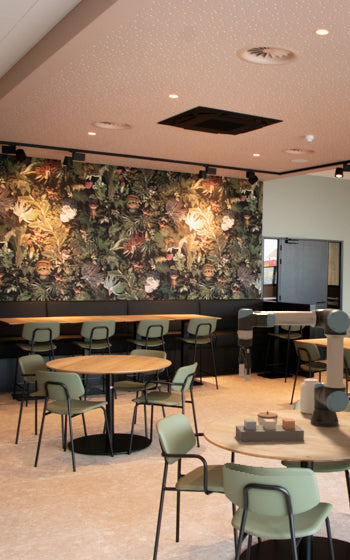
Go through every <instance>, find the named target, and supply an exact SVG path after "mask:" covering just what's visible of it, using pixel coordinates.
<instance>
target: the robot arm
mask: <svg viewBox="0 0 350 560" xmlns="http://www.w3.org/2000/svg"><path fill="white" fill-rule="evenodd" d="M237 319H238V320H237V326H238V327H237V332H236V333H237V337H238V339H237V346H239V352H238V353H239V354H238V359H237V360H238V361H237V362H238V363H239V364H238V367H239V368H238V376H239V377H244V382H251V369H252V368H253V366H252V358H251V357H252V356H251V355H252V354H251V348H249V347H252V346H253V332H254V331H253V328H273V327H275V326H311V327H312V328H320V329H323V330H324V331H323V332H324V333H323V335H324V336H325V337H326V381H325V382H324V381H323V382H318V383H315V386H314V411H313V414H311V417H310V424H311V425H313V426H317V427H324V428H332V427H337V426H339V418H338V415H337V413H341V412H343V411H344V410H346V409H347V408H348V406H349V404H350V397H349V396H348V394H347V385H345V383H344V348H345V347H344V344H345V343H344V338H345V337H346V336H348V335H347V333H348V332H347V331H348V329H349V328H350V316H349V315H348V313H347V312H345V311H343V310H341V309H336V308H322V309H311V311H283V310H282V311H276V310H275V311H274V310H273V311H272V310H271V311H264V310H263V311H259V310H253V308H240V309H239V310H238V315H237Z"/></svg>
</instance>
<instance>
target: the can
mask: <svg viewBox="0 0 350 560" xmlns="http://www.w3.org/2000/svg"><path fill="white" fill-rule="evenodd" d="M315 383H319V380H318V379H317V378H311V377H310V378H304V379H303V382H302V383H301V384H300V396H299V397H300V403H299V404H300V405H299V408H300V409H299V410H300V412H301V413H303V414H308V415H312V414H313V411H314V386H315Z"/></svg>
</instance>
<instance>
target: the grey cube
mask: <svg viewBox="0 0 350 560" xmlns="http://www.w3.org/2000/svg"><path fill="white" fill-rule="evenodd" d="M243 423H244V424H243V426H244V429H245V430H256V425H257V420H255V419H254V418H252V419H251V418H250V419H249V418H248V419H243Z"/></svg>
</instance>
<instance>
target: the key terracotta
mask: <svg viewBox="0 0 350 560" xmlns="http://www.w3.org/2000/svg"><path fill="white" fill-rule="evenodd" d="M281 422H282V423H281V425H282V428H284V429H295V425H296V420H294V418H282V421H281Z"/></svg>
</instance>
